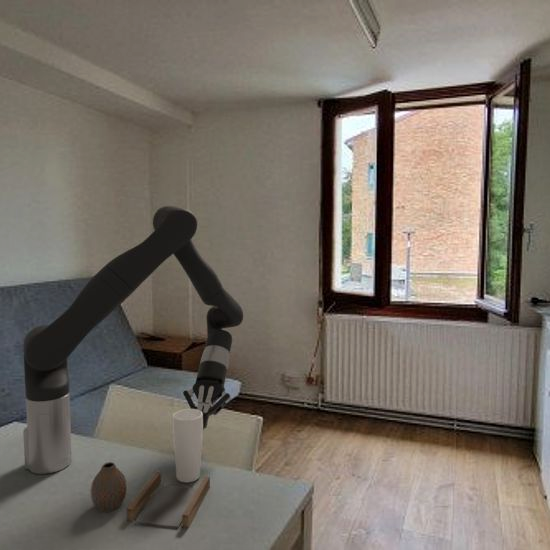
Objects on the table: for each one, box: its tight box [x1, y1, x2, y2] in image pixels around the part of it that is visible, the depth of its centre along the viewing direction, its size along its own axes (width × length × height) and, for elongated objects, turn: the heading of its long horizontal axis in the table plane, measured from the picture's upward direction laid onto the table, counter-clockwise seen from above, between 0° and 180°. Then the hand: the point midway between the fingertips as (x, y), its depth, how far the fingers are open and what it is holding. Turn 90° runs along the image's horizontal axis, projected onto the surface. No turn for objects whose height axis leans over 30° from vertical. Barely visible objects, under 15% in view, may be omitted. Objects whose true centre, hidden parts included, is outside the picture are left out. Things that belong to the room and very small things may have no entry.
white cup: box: [172, 408, 204, 484], centre depth 105 cm, size 7×7×15 cm
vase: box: [90, 461, 128, 513], centre depth 94 cm, size 7×7×9 cm
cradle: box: [126, 471, 211, 529], centre depth 96 cm, size 12×14×2 cm
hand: (199, 429), depth 114 cm, fingers closed
